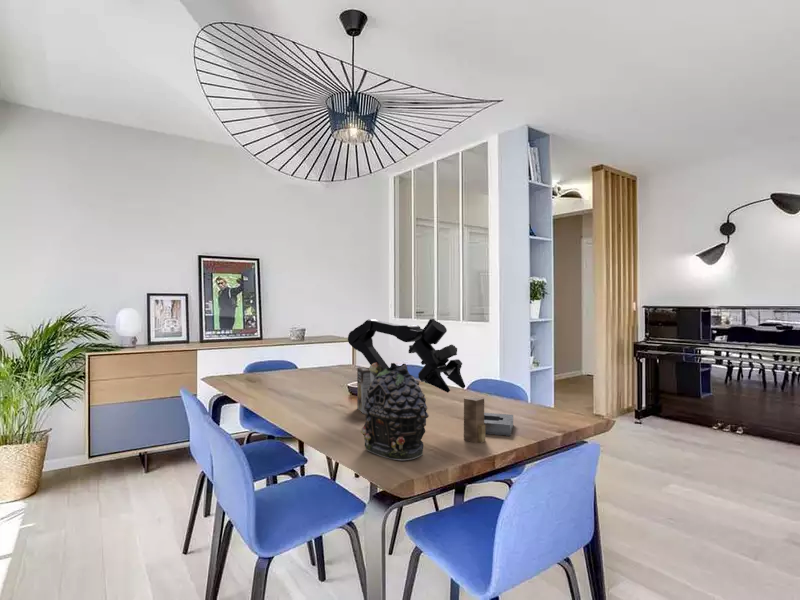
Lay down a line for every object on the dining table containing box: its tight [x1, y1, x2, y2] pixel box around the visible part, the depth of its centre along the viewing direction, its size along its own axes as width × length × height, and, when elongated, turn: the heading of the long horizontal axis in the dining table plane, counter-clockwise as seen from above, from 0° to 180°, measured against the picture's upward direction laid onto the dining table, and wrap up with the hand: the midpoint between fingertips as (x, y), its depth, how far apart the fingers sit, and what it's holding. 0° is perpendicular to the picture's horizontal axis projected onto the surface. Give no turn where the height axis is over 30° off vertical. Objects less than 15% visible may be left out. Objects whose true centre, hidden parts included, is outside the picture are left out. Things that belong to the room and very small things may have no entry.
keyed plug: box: [463, 396, 486, 443], centre depth 136 cm, size 6×4×12 cm
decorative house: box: [360, 362, 430, 461], centre depth 125 cm, size 21×15×25 cm
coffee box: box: [356, 367, 371, 414], centre depth 174 cm, size 9×6×16 cm
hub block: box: [484, 412, 514, 437], centre depth 149 cm, size 14×14×4 cm
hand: (456, 389), depth 143 cm, fingers open, 9 cm apart
